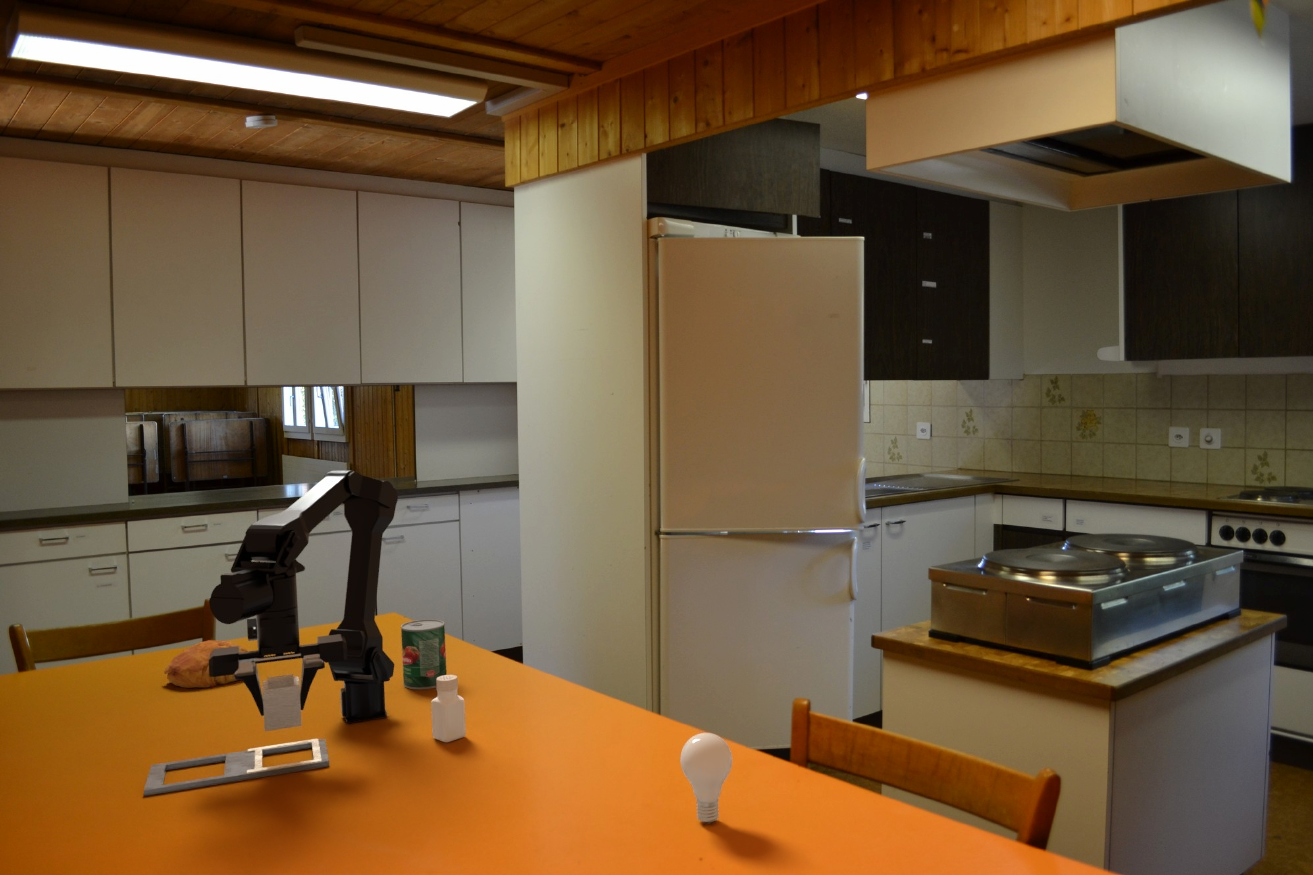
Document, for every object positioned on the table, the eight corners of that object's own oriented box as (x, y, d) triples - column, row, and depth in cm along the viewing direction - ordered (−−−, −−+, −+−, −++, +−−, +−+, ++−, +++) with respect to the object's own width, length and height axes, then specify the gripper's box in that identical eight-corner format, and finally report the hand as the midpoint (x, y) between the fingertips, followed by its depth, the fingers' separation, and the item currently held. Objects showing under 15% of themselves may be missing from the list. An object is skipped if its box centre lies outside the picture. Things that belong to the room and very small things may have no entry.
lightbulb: (679, 812, 124) (677, 726, 124) (729, 809, 125) (727, 723, 124) (685, 835, 118) (682, 745, 117) (737, 831, 118) (735, 741, 118)
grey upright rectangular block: (300, 715, 148) (298, 672, 148) (301, 725, 144) (299, 681, 143) (264, 720, 147) (262, 676, 146) (264, 731, 142) (262, 686, 142)
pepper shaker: (467, 737, 153) (465, 676, 153) (446, 744, 150) (443, 683, 150) (452, 731, 156) (450, 672, 156) (430, 738, 153) (428, 678, 153)
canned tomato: (456, 680, 184) (453, 621, 183) (425, 691, 177) (422, 631, 176) (425, 674, 188) (423, 617, 187) (394, 685, 181) (391, 626, 181)
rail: (325, 743, 152) (324, 737, 152) (329, 766, 143) (328, 759, 143) (151, 770, 143) (151, 763, 143) (143, 796, 134) (143, 788, 134)
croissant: (224, 674, 200) (219, 635, 200) (266, 675, 191) (262, 634, 191) (152, 691, 188) (148, 649, 189) (194, 693, 179) (189, 649, 179)
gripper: (339, 590, 155) (344, 687, 156) (209, 603, 148) (215, 705, 149) (345, 604, 145) (350, 708, 146) (205, 619, 138) (212, 728, 139)
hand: (282, 712), depth 145 cm, fingers closed on grey upright rectangular block, 5 cm apart
